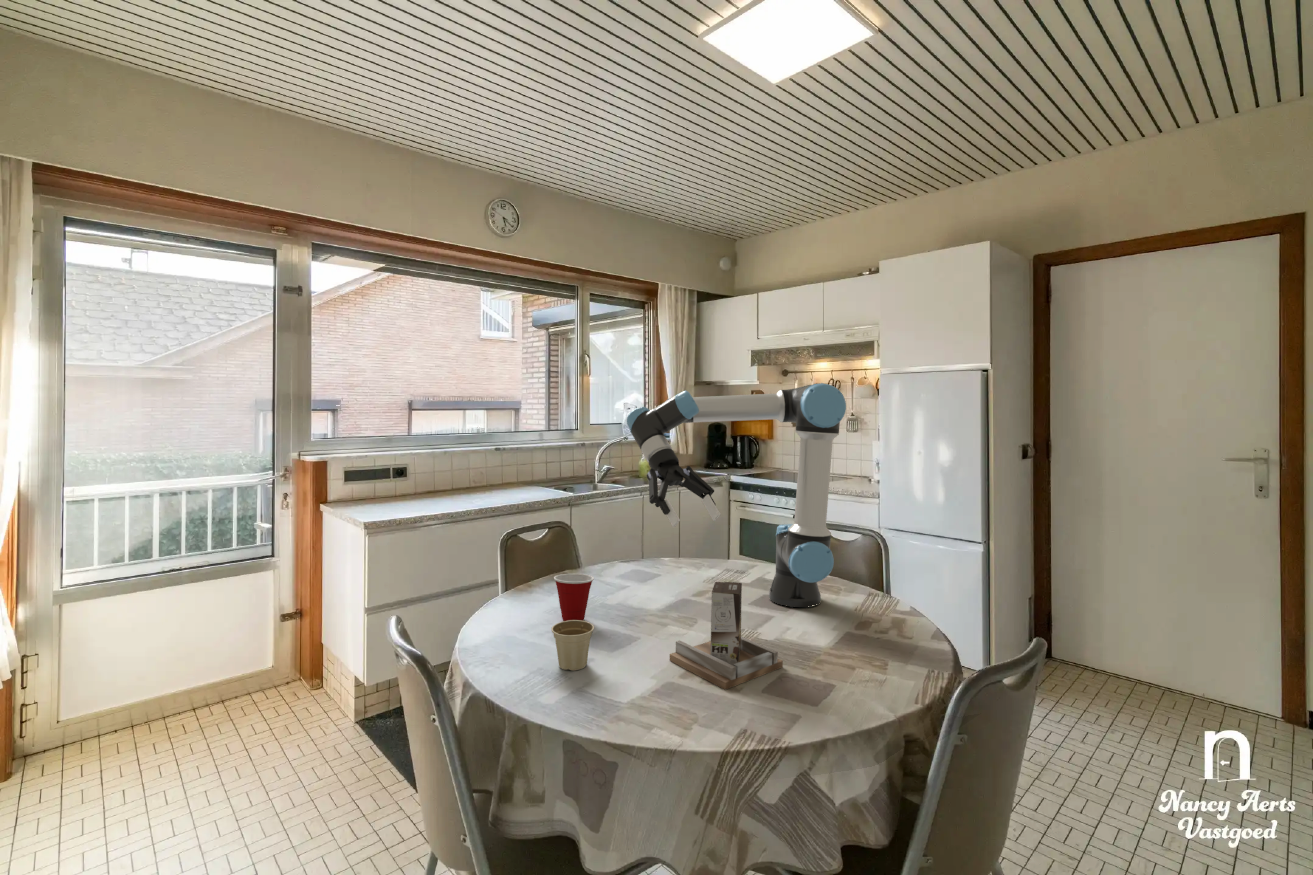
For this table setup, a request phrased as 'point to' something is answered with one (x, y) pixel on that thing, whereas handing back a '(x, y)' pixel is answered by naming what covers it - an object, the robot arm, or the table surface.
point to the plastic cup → (573, 595)
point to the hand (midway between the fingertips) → (697, 520)
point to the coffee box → (726, 621)
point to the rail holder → (722, 674)
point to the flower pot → (572, 643)
